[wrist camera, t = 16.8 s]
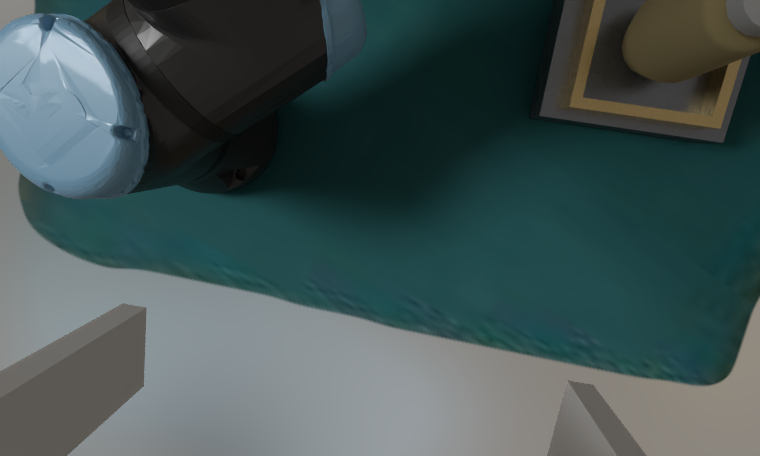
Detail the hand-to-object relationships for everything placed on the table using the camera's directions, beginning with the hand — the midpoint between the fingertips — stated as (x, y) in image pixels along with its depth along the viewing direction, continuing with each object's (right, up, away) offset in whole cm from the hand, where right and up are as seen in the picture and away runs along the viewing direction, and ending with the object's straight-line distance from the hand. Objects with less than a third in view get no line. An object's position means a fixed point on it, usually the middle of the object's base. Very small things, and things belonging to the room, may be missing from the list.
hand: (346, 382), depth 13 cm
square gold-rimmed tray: (+27, +23, +31) cm, 47 cm away
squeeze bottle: (+27, +22, +27) cm, 44 cm away
